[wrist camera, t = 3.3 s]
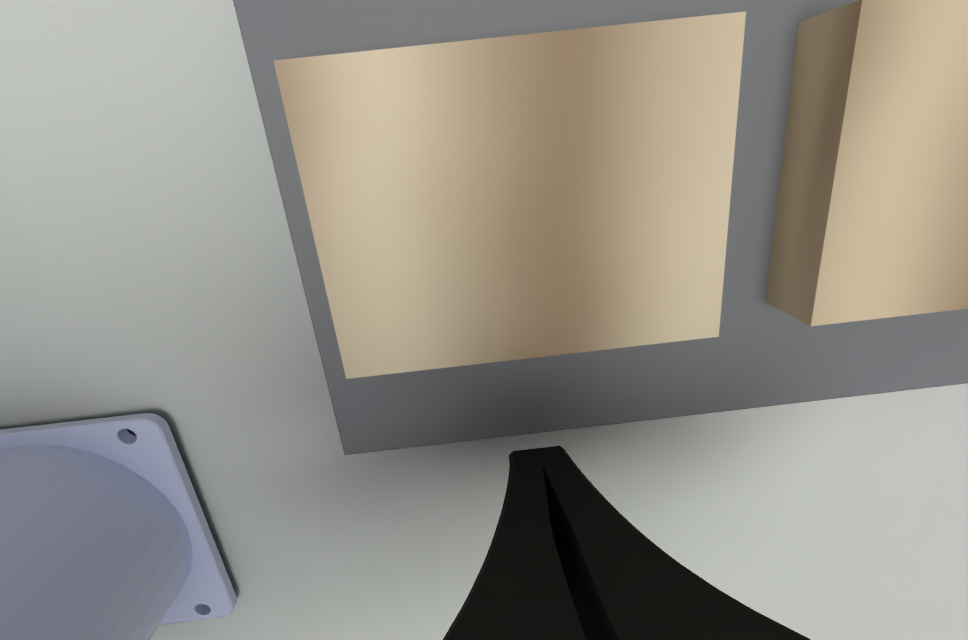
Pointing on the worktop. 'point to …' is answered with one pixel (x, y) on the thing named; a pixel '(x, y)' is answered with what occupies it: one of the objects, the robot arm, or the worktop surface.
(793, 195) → the outer tile
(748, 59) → the grey board
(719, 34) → the inner tile
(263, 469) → the worktop surface
